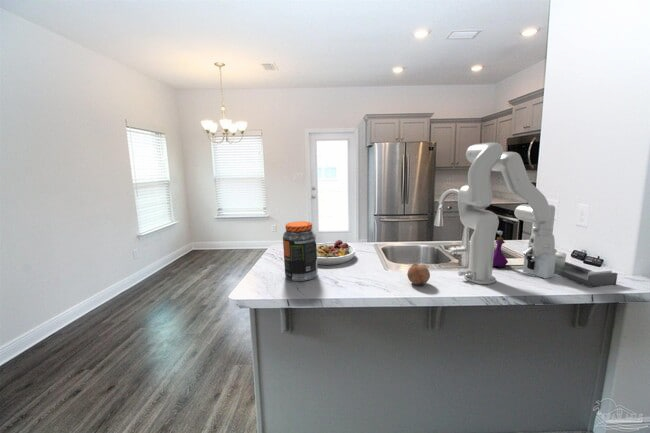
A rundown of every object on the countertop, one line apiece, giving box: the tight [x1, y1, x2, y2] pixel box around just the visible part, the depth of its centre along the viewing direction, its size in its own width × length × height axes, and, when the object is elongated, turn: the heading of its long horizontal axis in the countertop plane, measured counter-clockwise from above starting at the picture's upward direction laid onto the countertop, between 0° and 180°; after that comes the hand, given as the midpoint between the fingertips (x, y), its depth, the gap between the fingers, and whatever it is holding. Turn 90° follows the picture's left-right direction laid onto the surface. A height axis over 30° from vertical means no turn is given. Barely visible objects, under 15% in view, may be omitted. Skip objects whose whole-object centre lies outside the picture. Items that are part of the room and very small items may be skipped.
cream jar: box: [555, 251, 567, 270], centre depth 144 cm, size 7×7×7 cm
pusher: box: [587, 269, 613, 280], centre depth 125 cm, size 10×1×5 cm, turn 99°
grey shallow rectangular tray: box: [554, 261, 618, 288], centre depth 136 cm, size 13×26×5 cm, turn 9°
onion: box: [406, 263, 431, 287], centre depth 130 cm, size 10×9×10 cm
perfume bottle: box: [493, 230, 509, 268], centre depth 150 cm, size 8×8×18 cm
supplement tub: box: [282, 220, 318, 282], centre depth 142 cm, size 16×16×26 cm
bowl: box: [316, 239, 356, 266], centre depth 170 cm, size 30×30×8 cm
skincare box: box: [522, 252, 556, 279], centre depth 138 cm, size 10×6×10 cm, turn 29°
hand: (538, 267), depth 139 cm, fingers closed on skincare box, 7 cm apart
